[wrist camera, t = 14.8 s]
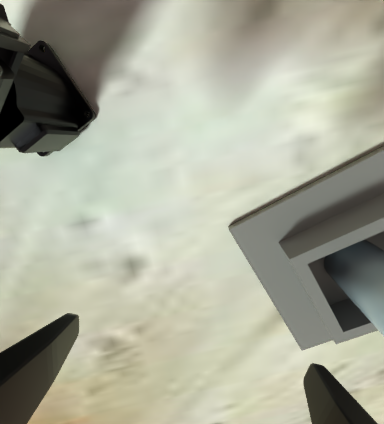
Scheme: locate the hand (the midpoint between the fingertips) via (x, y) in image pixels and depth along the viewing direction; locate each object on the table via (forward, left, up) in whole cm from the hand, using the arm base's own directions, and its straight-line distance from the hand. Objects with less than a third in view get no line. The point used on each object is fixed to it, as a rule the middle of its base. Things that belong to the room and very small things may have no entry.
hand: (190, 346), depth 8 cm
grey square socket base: (+9, +10, -13) cm, 19 cm away
